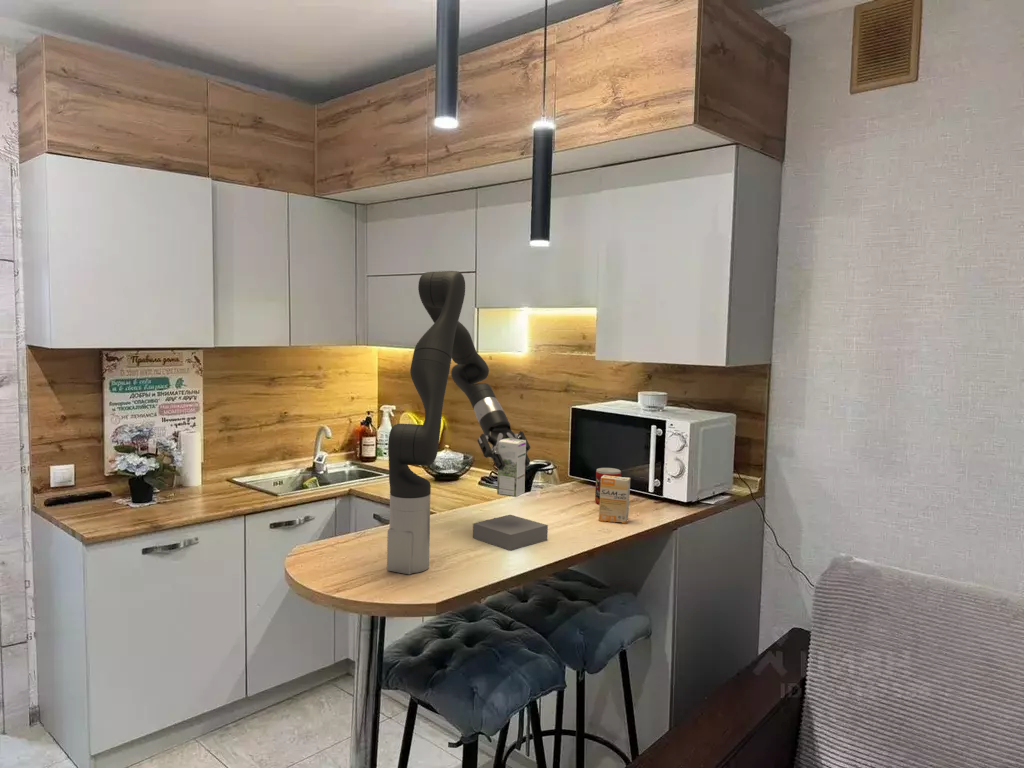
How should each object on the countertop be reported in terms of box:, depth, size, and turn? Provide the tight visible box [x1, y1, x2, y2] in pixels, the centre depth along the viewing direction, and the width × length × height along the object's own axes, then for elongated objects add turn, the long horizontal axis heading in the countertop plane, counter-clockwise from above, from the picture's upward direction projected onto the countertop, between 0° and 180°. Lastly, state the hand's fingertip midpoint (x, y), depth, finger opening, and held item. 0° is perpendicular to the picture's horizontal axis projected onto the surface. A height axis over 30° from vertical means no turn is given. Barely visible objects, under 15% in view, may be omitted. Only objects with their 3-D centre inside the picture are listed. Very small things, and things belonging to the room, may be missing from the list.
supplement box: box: [598, 475, 631, 524], centre depth 210 cm, size 8×5×13 cm, turn 71°
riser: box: [472, 514, 549, 551], centre depth 189 cm, size 14×14×4 cm
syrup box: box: [496, 438, 527, 498], centre depth 188 cm, size 6×6×14 cm
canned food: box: [594, 467, 622, 505], centre depth 232 cm, size 8×8×11 cm
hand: (514, 466), depth 187 cm, fingers closed on syrup box, 7 cm apart
